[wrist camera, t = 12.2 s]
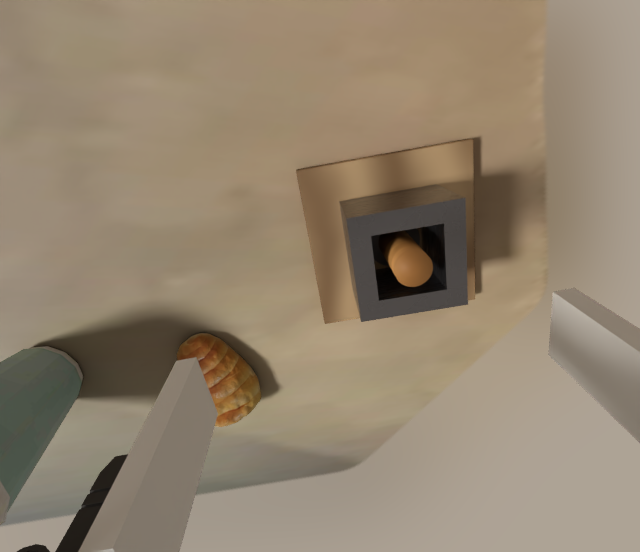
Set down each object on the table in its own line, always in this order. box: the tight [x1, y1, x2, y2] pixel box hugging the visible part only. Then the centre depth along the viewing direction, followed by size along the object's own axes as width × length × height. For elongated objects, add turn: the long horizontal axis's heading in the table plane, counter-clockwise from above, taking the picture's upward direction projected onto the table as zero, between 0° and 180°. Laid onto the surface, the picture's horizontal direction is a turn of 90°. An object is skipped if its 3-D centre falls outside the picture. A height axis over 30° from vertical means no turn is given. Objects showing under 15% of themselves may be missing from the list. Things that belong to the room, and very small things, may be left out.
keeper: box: [296, 139, 475, 324], centre depth 29 cm, size 14×14×8 cm
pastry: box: [177, 333, 261, 427], centre depth 36 cm, size 9×7×4 cm
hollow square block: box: [339, 184, 468, 322], centre depth 29 cm, size 8×8×6 cm
